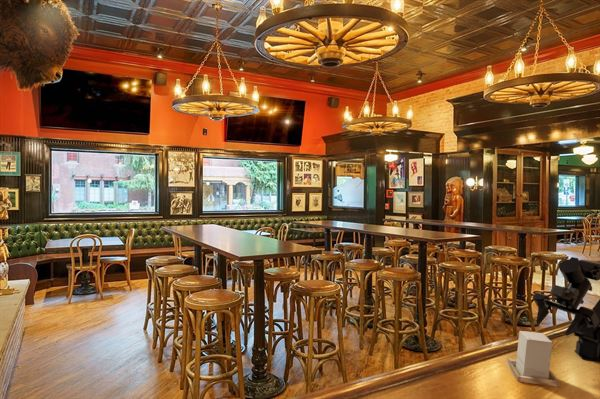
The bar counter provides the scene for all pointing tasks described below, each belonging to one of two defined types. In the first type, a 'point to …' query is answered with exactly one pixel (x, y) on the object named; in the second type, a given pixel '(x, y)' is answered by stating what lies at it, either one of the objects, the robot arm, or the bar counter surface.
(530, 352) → the supplement box
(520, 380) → the tray rim
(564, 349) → the bar counter surface
